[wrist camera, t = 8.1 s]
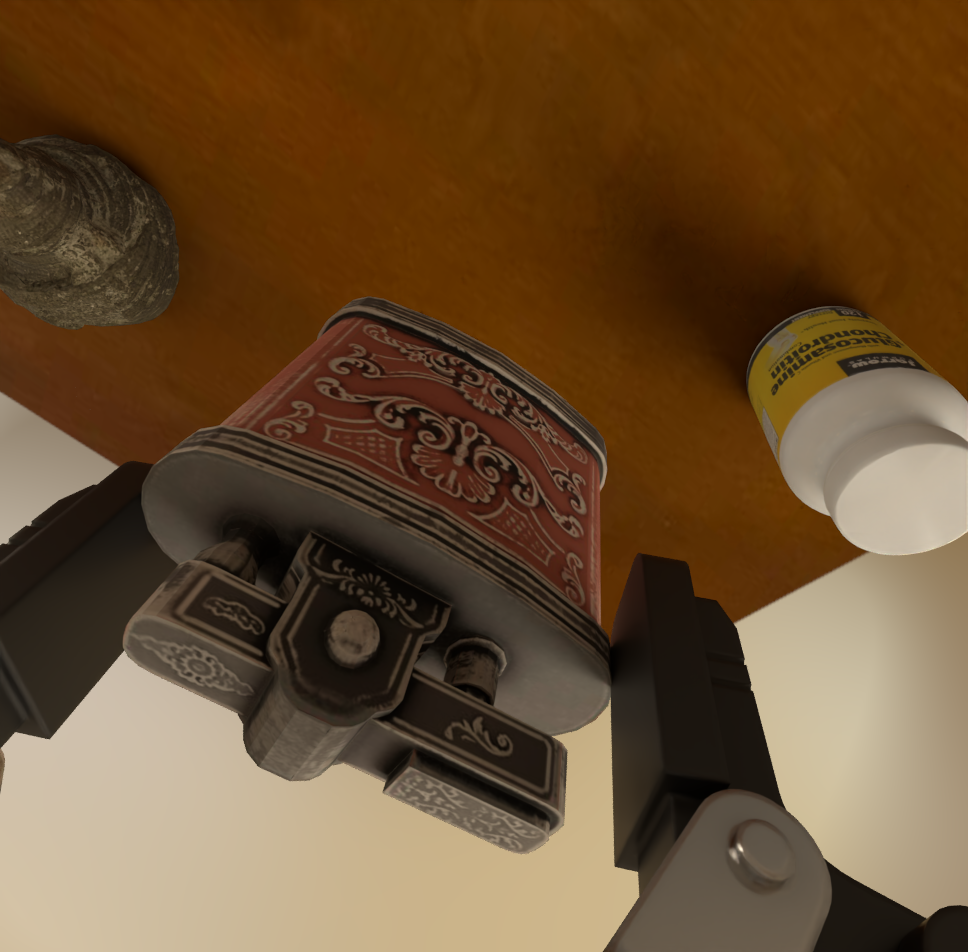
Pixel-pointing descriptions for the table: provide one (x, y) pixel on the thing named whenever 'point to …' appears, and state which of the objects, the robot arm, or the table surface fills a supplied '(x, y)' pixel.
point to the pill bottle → (863, 430)
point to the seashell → (82, 236)
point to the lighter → (392, 572)
